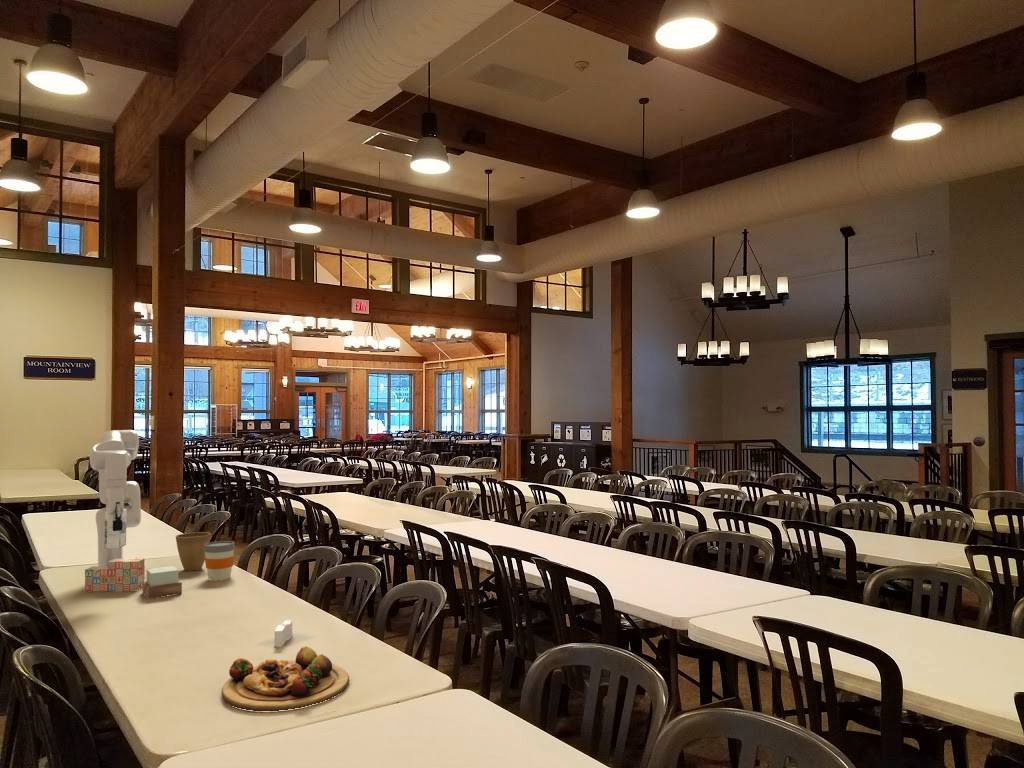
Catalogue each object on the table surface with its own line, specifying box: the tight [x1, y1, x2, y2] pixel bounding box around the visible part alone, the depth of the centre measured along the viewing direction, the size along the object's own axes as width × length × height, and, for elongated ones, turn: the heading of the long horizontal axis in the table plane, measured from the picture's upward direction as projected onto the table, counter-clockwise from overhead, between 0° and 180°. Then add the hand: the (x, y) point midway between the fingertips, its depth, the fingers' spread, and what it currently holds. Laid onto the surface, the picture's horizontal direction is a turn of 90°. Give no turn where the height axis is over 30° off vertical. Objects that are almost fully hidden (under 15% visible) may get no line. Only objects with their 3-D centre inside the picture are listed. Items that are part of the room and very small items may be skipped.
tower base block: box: [141, 579, 183, 599], centre depth 298 cm, size 12×12×5 cm
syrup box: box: [104, 509, 127, 548], centre depth 288 cm, size 6×6×14 cm
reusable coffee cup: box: [204, 540, 236, 581], centre depth 324 cm, size 13×13×15 cm
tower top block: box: [146, 565, 179, 586], centre depth 298 cm, size 10×10×5 cm
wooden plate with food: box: [220, 645, 350, 711], centre depth 195 cm, size 32×32×8 cm
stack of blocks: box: [84, 557, 146, 592], centre depth 306 cm, size 21×6×12 cm, turn 92°
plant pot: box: [175, 531, 211, 572], centre depth 343 cm, size 15×15×16 cm
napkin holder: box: [274, 619, 293, 648], centre depth 235 cm, size 15×11×6 cm
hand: (115, 528), depth 288 cm, fingers closed on syrup box, 7 cm apart
